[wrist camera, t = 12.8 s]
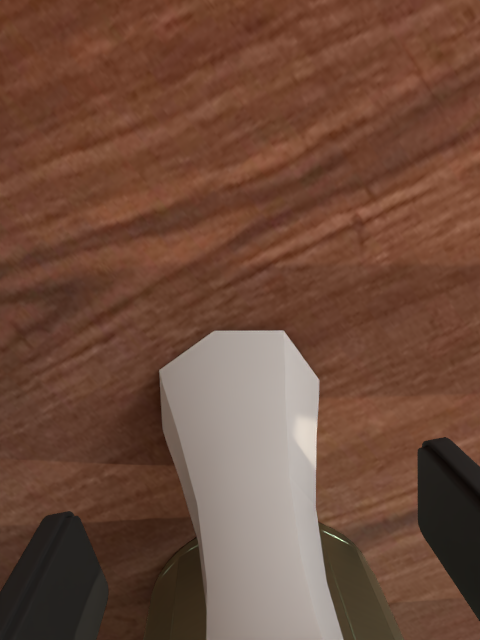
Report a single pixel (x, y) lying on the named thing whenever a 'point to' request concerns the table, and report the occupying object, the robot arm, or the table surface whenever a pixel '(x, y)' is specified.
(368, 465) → the table surface
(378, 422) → the table surface
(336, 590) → the pot
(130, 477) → the table surface
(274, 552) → the flask
